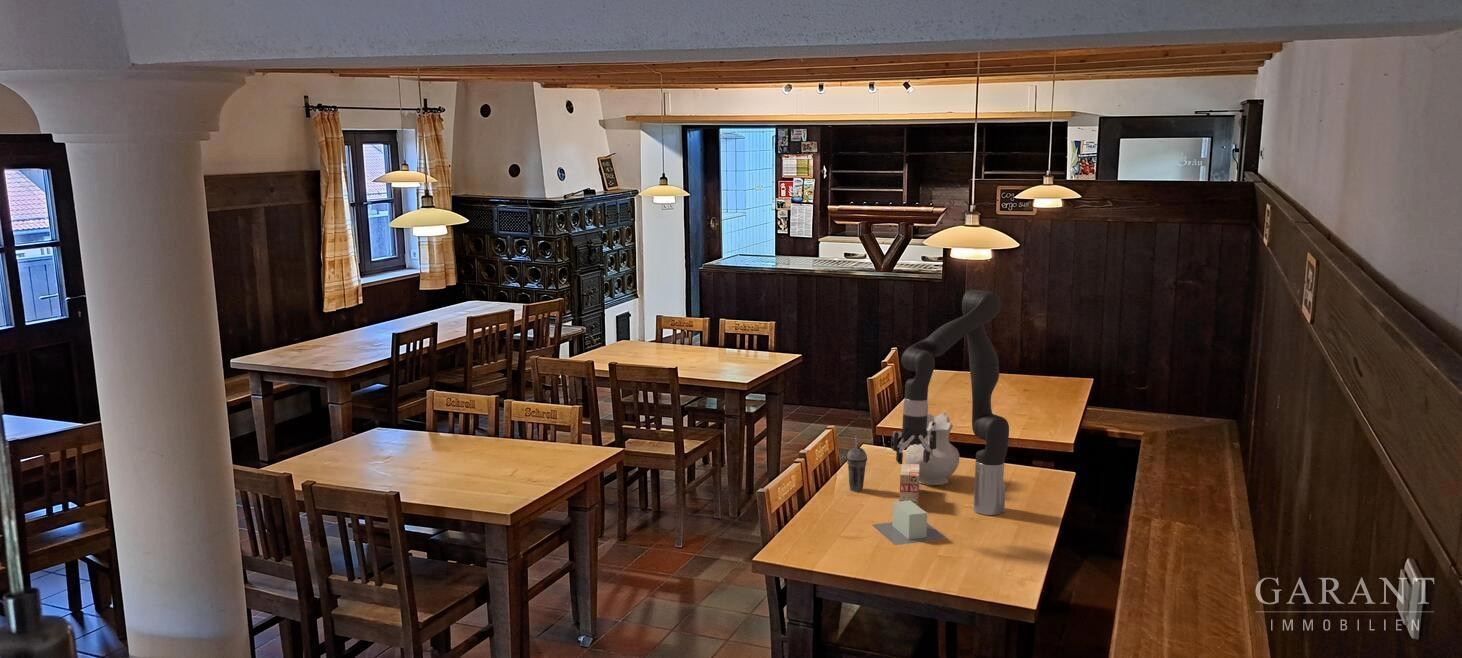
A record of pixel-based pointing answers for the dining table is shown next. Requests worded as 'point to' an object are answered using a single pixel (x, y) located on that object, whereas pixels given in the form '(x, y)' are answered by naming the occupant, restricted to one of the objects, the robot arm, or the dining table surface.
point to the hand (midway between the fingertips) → (912, 462)
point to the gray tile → (899, 538)
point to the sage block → (909, 519)
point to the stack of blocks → (909, 483)
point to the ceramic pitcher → (935, 453)
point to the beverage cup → (856, 467)
